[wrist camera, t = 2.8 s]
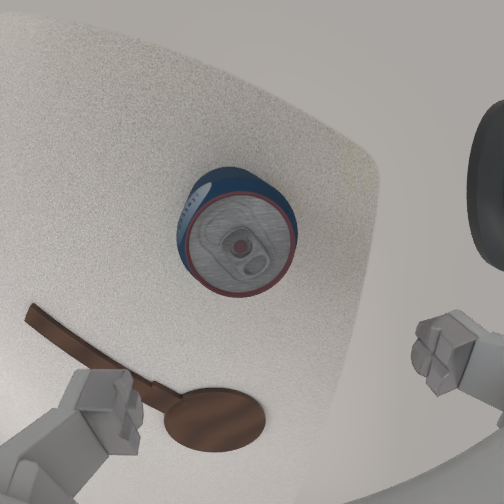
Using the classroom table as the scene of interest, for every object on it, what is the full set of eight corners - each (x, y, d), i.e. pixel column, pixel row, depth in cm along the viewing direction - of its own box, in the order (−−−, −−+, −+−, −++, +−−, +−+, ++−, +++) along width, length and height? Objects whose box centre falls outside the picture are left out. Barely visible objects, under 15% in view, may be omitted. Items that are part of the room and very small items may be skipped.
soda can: (172, 198, 26) (145, 237, 15) (236, 150, 26) (257, 151, 14) (220, 257, 29) (228, 329, 17) (282, 212, 28) (329, 258, 17)
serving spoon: (284, 412, 37) (286, 416, 36) (224, 457, 39) (225, 461, 38) (48, 268, 27) (44, 271, 26) (17, 344, 29) (14, 347, 28)
